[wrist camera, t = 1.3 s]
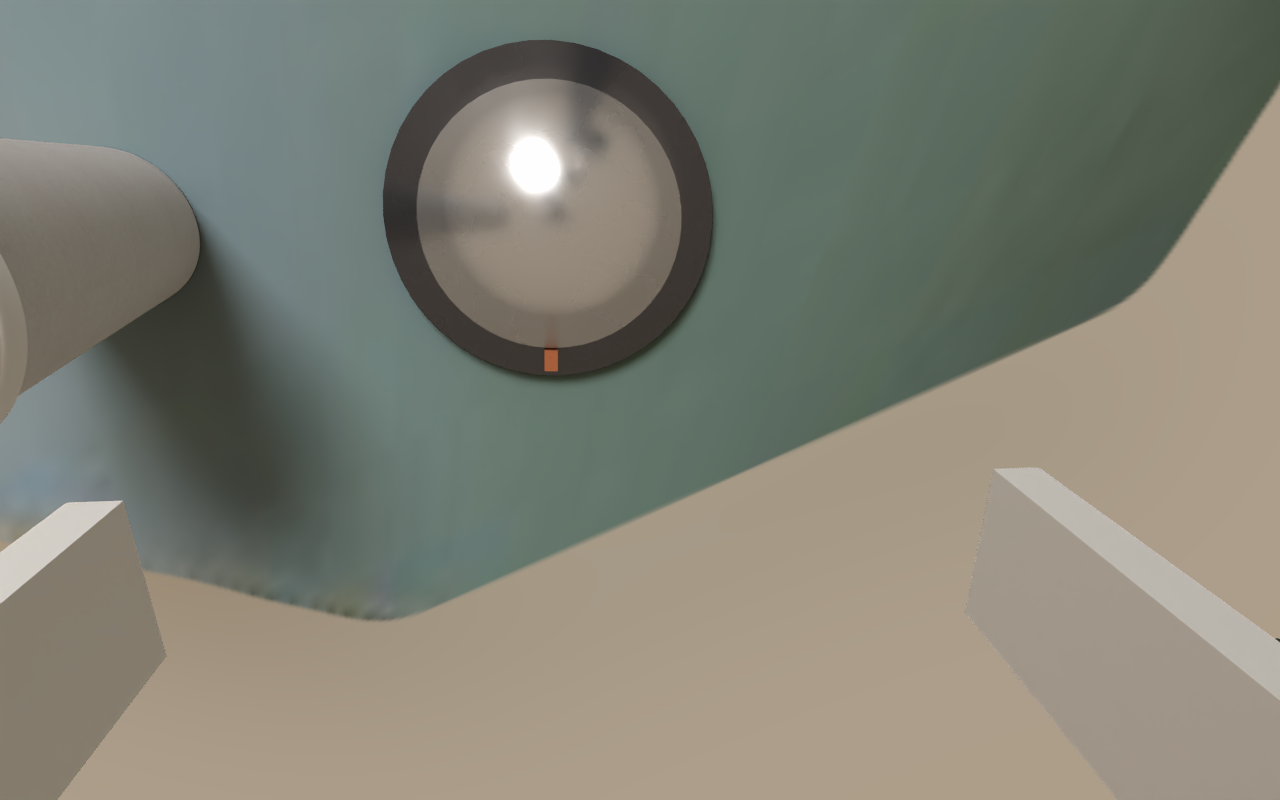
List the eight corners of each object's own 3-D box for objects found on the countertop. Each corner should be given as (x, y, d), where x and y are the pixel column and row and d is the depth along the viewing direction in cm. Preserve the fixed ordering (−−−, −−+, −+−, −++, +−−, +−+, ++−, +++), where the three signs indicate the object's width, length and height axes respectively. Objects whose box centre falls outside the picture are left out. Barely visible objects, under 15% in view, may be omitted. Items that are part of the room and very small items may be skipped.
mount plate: (372, 31, 28) (367, 28, 28) (723, 51, 30) (727, 50, 29) (398, 369, 33) (394, 375, 33) (698, 373, 35) (701, 379, 34)
